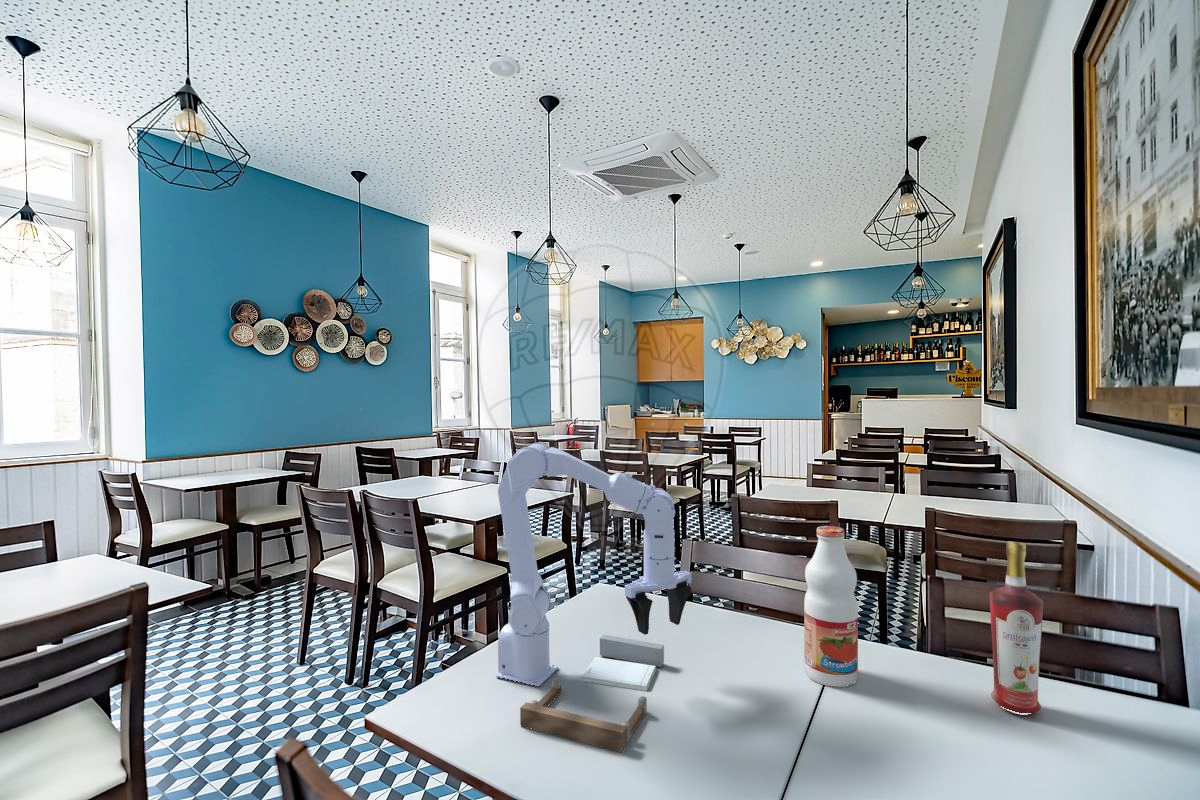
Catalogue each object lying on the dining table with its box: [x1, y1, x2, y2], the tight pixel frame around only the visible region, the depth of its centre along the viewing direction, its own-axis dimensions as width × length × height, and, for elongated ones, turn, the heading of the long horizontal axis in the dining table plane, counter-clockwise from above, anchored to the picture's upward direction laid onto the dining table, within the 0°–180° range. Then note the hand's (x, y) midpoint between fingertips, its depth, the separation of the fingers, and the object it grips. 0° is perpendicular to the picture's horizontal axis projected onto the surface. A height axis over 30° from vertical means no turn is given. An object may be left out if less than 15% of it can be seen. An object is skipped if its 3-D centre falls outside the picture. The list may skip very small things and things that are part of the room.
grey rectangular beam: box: [599, 634, 665, 668], centre depth 115 cm, size 13×2×4 cm, turn 67°
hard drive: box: [581, 656, 657, 692], centre depth 109 cm, size 2×8×12 cm
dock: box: [519, 677, 648, 753], centre depth 95 cm, size 18×12×3 cm, turn 67°
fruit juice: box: [803, 525, 859, 688], centre depth 108 cm, size 9×9×28 cm
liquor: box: [989, 540, 1044, 714], centre depth 96 cm, size 7×7×28 cm
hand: (659, 627), depth 107 cm, fingers open, 7 cm apart
